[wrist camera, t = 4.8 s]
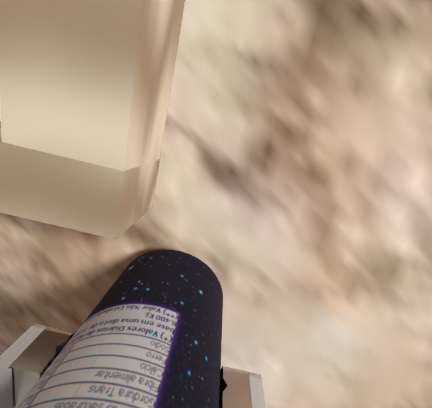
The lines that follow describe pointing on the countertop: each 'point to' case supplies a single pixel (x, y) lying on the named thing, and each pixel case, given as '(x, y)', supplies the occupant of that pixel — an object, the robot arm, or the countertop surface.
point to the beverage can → (143, 342)
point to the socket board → (84, 108)
